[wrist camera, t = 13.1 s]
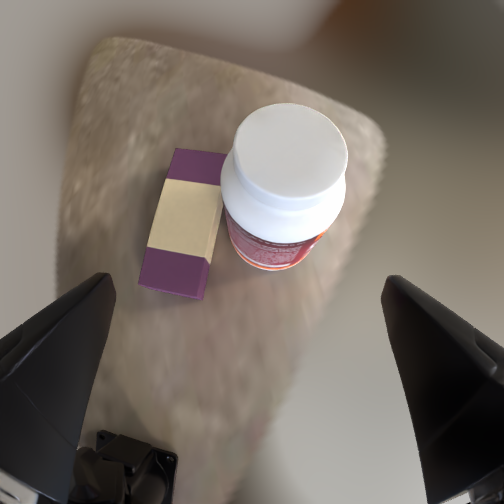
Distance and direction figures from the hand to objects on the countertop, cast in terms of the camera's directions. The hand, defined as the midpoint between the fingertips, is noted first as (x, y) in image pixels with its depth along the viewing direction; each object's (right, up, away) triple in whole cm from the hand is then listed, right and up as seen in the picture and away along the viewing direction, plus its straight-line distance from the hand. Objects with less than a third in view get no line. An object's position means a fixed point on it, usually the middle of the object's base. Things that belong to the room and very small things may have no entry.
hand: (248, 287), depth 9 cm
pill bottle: (+2, +3, +13) cm, 13 cm away
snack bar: (-4, +3, +13) cm, 14 cm away
